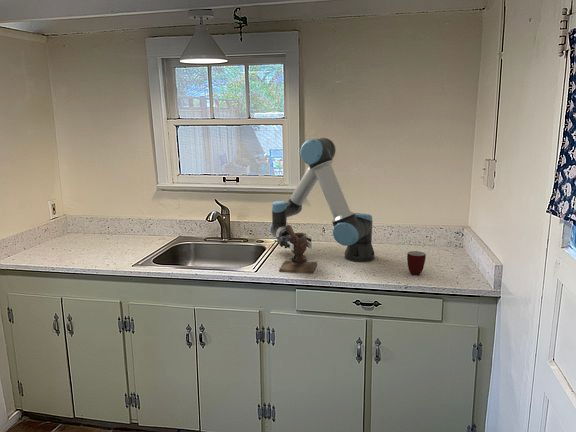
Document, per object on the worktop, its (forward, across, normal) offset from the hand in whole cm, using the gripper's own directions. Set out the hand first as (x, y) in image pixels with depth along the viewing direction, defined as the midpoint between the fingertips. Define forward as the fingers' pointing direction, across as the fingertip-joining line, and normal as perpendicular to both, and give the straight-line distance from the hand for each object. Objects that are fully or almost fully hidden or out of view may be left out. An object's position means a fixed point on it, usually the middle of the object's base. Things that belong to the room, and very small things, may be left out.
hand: (302, 246), depth 223 cm
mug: (+22, -47, -12) cm, 53 cm away
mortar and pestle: (-5, 0, -9) cm, 10 cm away
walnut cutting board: (-5, 0, -12) cm, 13 cm away
